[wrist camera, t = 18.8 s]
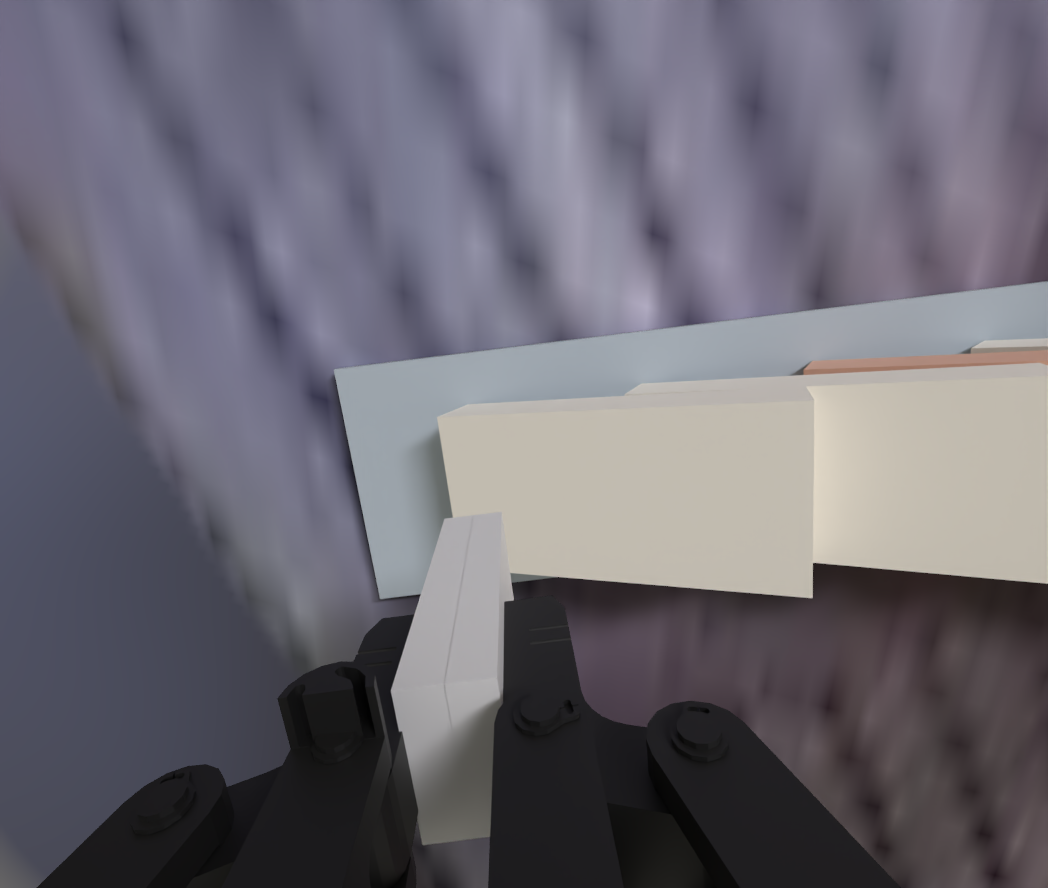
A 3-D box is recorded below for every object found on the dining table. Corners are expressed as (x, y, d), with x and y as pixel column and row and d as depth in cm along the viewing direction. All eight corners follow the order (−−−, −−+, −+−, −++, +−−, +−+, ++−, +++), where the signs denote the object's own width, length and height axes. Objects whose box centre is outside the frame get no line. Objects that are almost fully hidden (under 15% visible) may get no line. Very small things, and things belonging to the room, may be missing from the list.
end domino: (467, 404, 21) (805, 386, 17) (488, 542, 23) (804, 561, 18) (436, 417, 19) (814, 400, 15) (461, 568, 21) (812, 598, 16)
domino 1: (812, 361, 21) (1310, 338, 15) (811, 501, 23) (1264, 541, 16) (803, 369, 19) (1370, 348, 13) (802, 522, 21) (1313, 578, 14)
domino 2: (641, 383, 21) (1039, 362, 16) (650, 522, 23) (1020, 547, 17) (624, 394, 19) (1075, 374, 14) (636, 546, 21) (1050, 584, 15)
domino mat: (1198, 262, 22) (1217, 260, 21) (1159, 495, 24) (1175, 500, 23) (338, 368, 21) (333, 369, 21) (383, 592, 24) (380, 599, 23)
